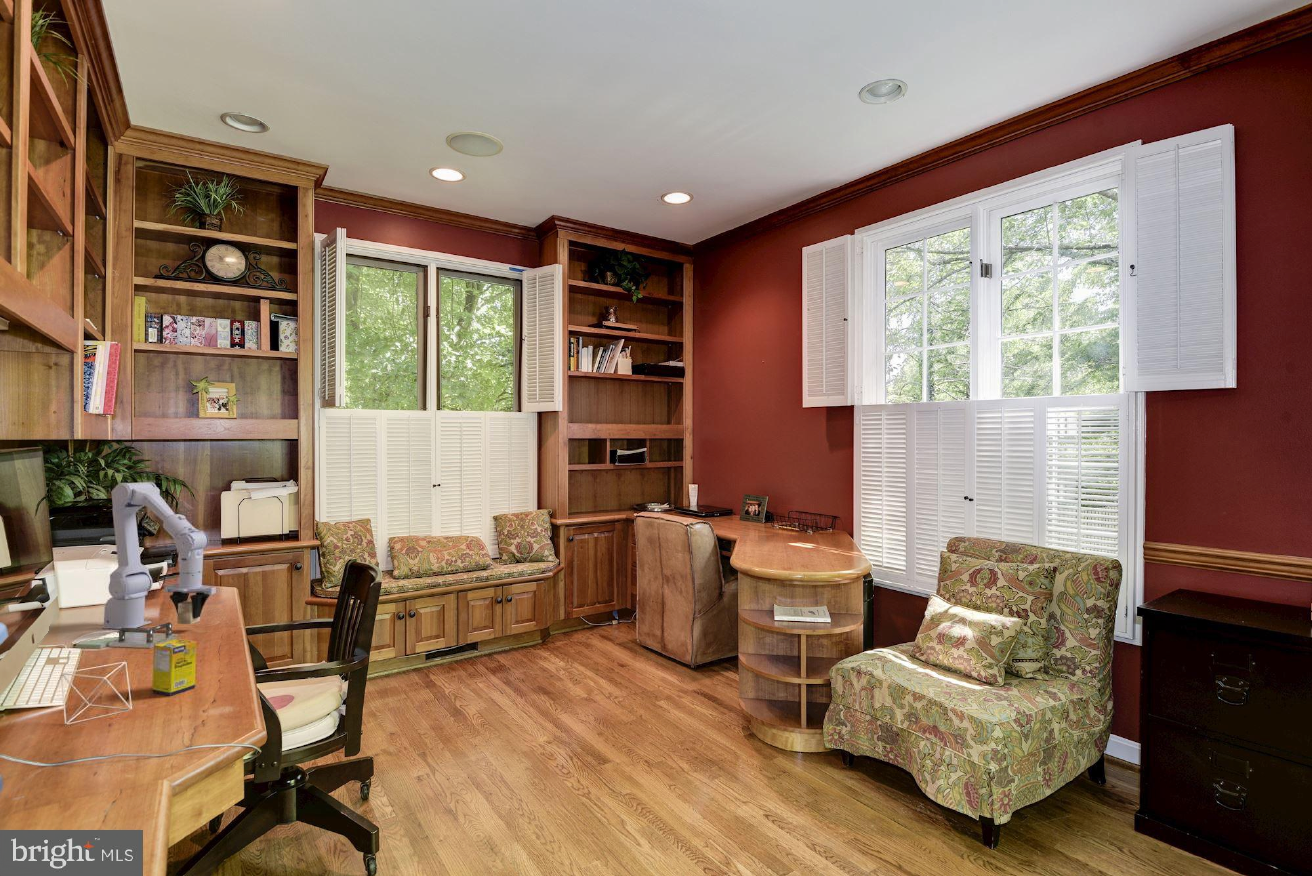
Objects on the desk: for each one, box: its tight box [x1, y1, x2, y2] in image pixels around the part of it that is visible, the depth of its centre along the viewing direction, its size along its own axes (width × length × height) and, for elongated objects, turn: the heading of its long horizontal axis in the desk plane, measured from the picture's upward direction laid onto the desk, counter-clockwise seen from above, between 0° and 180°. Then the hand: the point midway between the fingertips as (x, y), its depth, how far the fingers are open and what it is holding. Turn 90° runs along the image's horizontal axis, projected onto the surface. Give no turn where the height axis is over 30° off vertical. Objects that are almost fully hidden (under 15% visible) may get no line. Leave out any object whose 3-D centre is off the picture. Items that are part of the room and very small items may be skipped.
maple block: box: [177, 600, 201, 625], centre depth 202 cm, size 4×4×6 cm
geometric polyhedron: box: [60, 661, 133, 725], centre depth 141 cm, size 12×11×9 cm
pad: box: [75, 629, 137, 650], centre depth 191 cm, size 7×14×1 cm, turn 178°
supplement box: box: [151, 638, 198, 697], centre depth 155 cm, size 6×6×11 cm
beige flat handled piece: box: [108, 621, 179, 649], centre depth 190 cm, size 12×10×5 cm
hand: (189, 617), depth 202 cm, fingers closed on maple block, 4 cm apart
